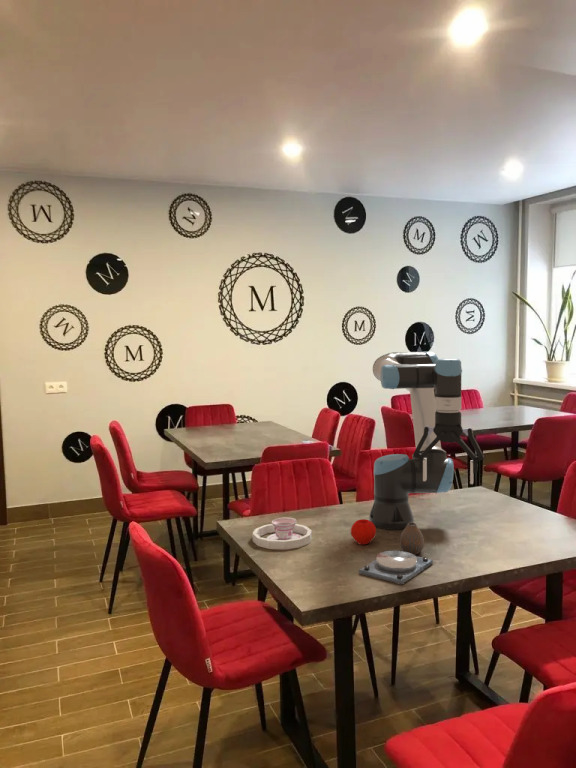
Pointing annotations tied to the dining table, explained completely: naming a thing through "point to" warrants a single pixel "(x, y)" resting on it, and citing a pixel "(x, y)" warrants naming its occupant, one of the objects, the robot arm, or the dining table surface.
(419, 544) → the vase
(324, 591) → the dining table surface
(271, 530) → the saucer ring
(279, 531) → the teacup
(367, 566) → the duct flange
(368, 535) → the apple
